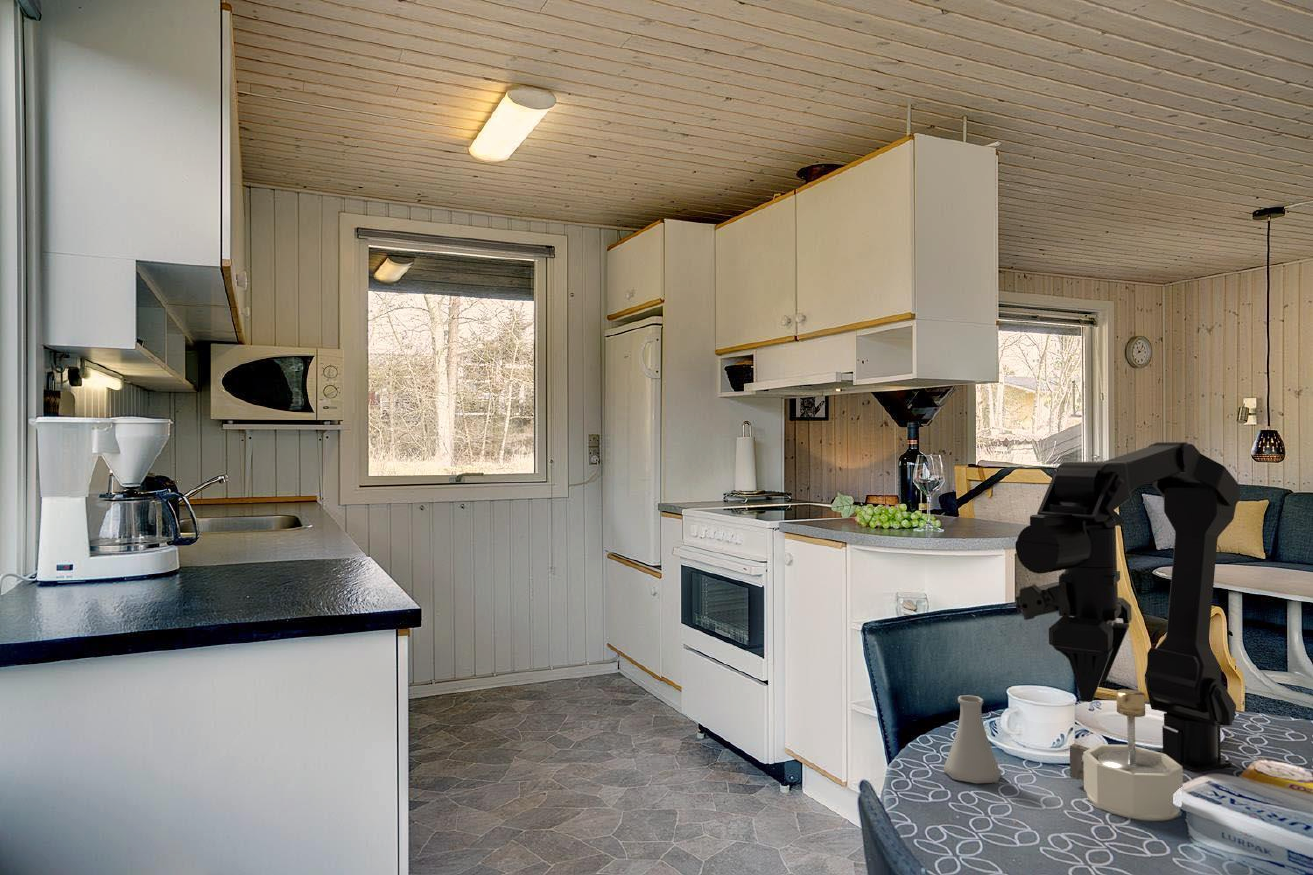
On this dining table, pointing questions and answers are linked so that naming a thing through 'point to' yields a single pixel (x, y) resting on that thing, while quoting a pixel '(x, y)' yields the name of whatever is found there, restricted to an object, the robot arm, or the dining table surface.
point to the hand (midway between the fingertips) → (1094, 690)
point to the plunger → (1131, 737)
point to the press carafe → (1127, 783)
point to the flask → (971, 746)
